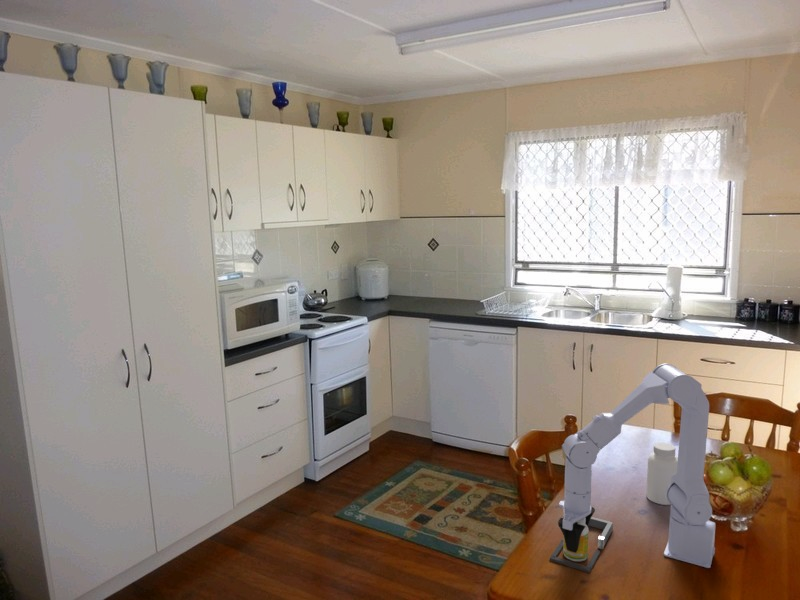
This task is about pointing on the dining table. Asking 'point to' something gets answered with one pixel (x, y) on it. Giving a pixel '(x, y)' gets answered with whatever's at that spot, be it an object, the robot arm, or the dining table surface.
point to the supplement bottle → (583, 545)
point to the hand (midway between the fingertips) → (576, 544)
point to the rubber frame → (572, 564)
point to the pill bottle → (660, 472)
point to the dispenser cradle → (604, 525)
